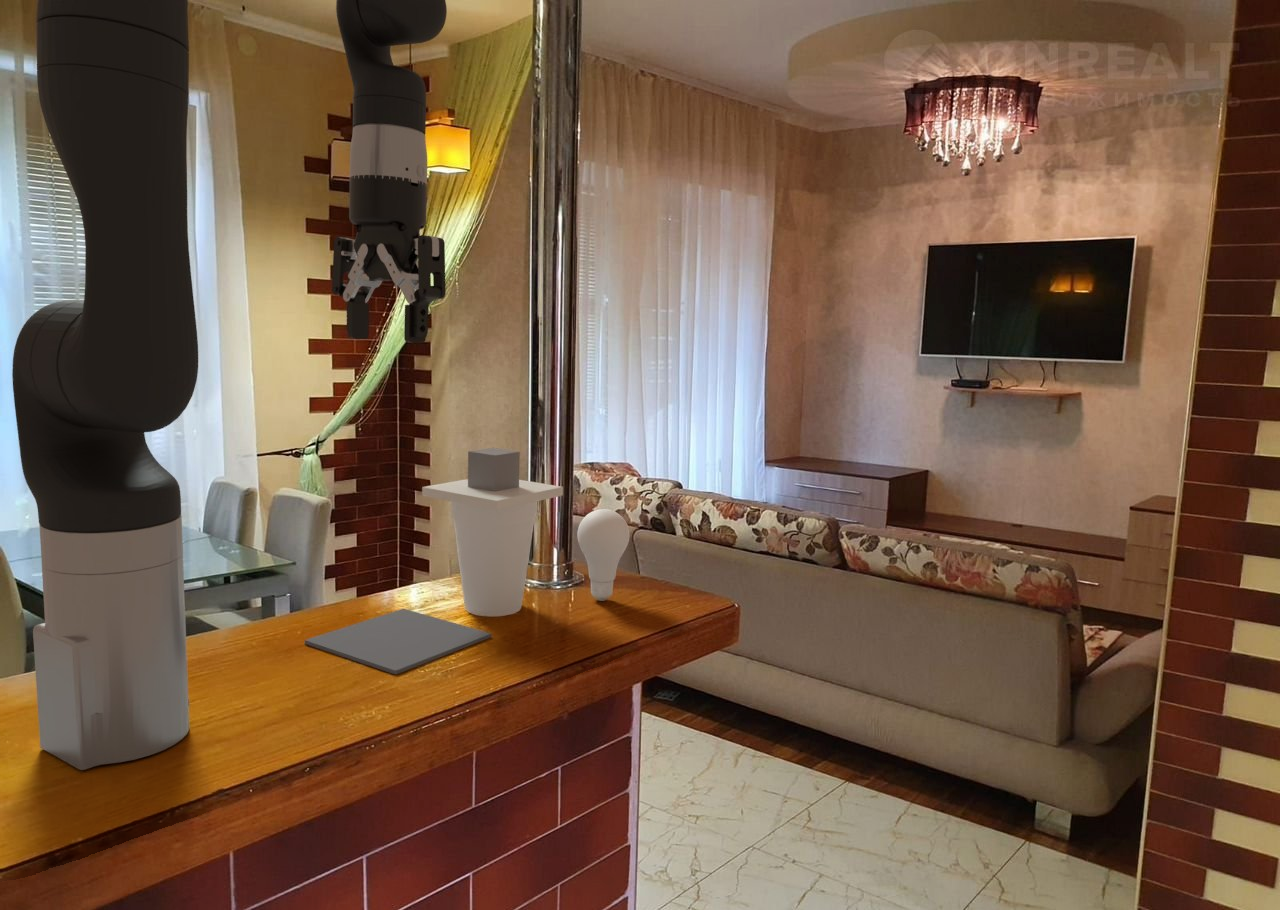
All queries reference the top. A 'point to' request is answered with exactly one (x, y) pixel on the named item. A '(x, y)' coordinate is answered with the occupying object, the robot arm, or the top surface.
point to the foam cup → (493, 556)
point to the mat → (398, 640)
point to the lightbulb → (603, 548)
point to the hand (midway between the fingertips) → (386, 340)
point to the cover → (493, 483)
